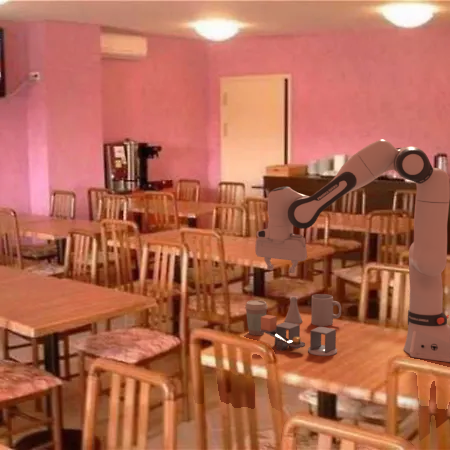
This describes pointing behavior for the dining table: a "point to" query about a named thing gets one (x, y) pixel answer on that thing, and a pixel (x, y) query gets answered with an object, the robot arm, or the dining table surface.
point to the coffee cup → (255, 315)
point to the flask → (293, 312)
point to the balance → (284, 340)
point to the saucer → (321, 351)
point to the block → (268, 322)
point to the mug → (323, 310)
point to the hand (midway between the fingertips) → (281, 271)
